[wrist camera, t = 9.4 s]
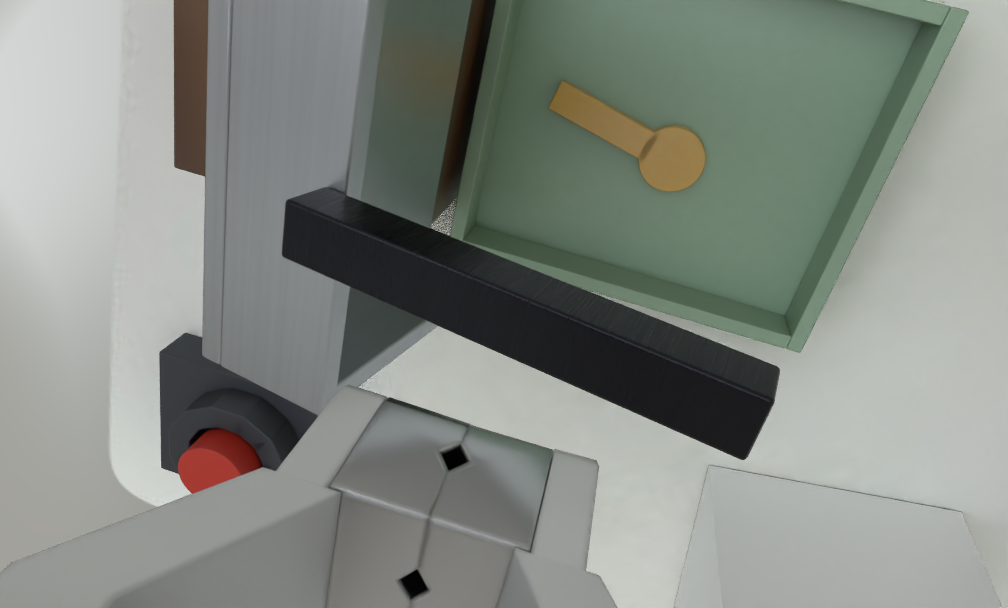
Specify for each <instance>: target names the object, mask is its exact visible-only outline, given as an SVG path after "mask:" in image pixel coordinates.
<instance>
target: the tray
mask: <svg viewBox="0 0 1008 608" xmlns="http://www.w3.org/2000/svg"><path fill="white" fill-rule="evenodd" d="M968 13H969V11H967V10H963V9H959V8H955V7H949V6H946V5H942V4H938V3H934V2H930V1H926V0H496V3H495V8H494V13H493V19H492V24H491V29H490V34H489V39H488V44H487V49H486V54H485V59H484V64H483V69H482V74H481V79H480V85H479V90H478V95H477V100H476V105H475V110H474V115H473V120H472V125H471V130H470V135H469V140H468V145H467V151H466V156H465V161H464V166H463V171H462V176H461V181H460V186H459V191H458V196H457V201H456V206H455V211H454V217H453V222H452V227H451V232H450V237H453V238H456V239H458V240H461V241H463V242H466V243H468V244H471V245H473V246H476V247H478V248H481V249H483V250H486V251H488V252H491V253H493V254H496V255H498V256H501V257H503V258H506V259H508V260H511V261H513V262H516V263H518V264H521V265H523V266H526V267H528V268H531V269H533V270H536V271H538V272H541V273H543V274H546V275H548V276H551V277H553V278H556V279H559V280H561V281H564V282H566V283H569V284H571V285H574V286H576V287H579V288H582V289H586V290H589V291H593V292H596V293H599V294H603V295H606V296H609V297H613V298H616V299H620V300H623V301H626V302H630V303H633V304H636V305H640V306H643V307H647V308H650V309H653V310H657V311H660V312H663V313H667V314H670V315H674V316H677V317H680V318H684V319H687V320H690V321H694V322H697V323H701V324H704V325H707V326H711V327H714V328H717V329H721V330H724V331H728V332H731V333H734V334H738V335H741V336H745V337H748V338H751V339H755V340H758V341H761V342H765V343H768V344H772V345H775V346H778V347H782V348H787V349H789V350H792V351H795V352H799V353H800V352H801V351H802V349H803V347H804V345H805V343H806V341H807V339H808V337H809V335H810V332H811V330H812V328H813V326H814V324H815V322H816V320H817V318H818V316H819V314H820V312H821V310H822V308H823V306H824V304H825V302H826V300H827V298H828V296H829V294H830V292H831V290H832V288H833V286H834V284H835V282H836V280H837V278H838V276H839V274H840V272H841V270H842V268H843V266H844V264H845V262H846V260H847V258H848V256H849V254H850V252H851V250H852V248H853V246H854V244H855V242H856V240H857V238H858V236H859V234H860V231H861V229H862V227H863V225H864V223H865V221H866V219H867V217H868V215H869V213H870V211H871V209H872V207H873V205H874V203H875V201H876V199H877V197H878V195H879V193H880V191H881V189H882V187H883V185H884V183H885V181H886V179H887V177H888V175H889V173H890V171H891V169H892V167H893V165H894V163H895V161H896V159H897V157H898V155H899V153H900V151H901V149H902V147H903V145H904V143H905V141H906V139H907V137H908V135H909V133H910V131H911V128H912V126H913V124H914V122H915V120H916V118H917V116H918V114H919V112H920V110H921V108H922V106H923V104H924V102H925V100H926V98H927V96H928V94H929V92H930V90H931V88H932V86H933V84H934V82H935V80H936V78H937V76H938V74H939V72H940V70H941V68H942V66H943V64H944V62H945V60H946V58H947V56H948V54H949V52H950V50H951V48H952V46H953V44H954V42H955V40H956V38H957V36H958V34H959V32H960V30H961V27H962V25H963V23H964V21H965V19H966V17H967V15H968ZM564 79H565V80H567V81H568V82H570V83H572V84H574V85H576V86H577V87H579V88H581V89H583V90H584V91H586V92H588V93H590V94H592V95H593V96H595V97H597V98H599V99H600V100H602V101H604V102H606V103H608V104H609V105H611V106H613V107H615V108H617V109H618V110H620V111H622V112H624V113H625V114H627V115H629V116H631V117H633V118H634V119H636V120H638V121H640V122H641V123H643V124H645V125H647V126H649V127H650V128H652V129H654V130H655V129H657V128H659V127H662V126H665V125H671V124H676V125H682V126H685V127H688V128H690V129H691V130H693V131H694V132H695V133H696V134H697V135H698V136H699V137H700V139H701V140H702V142H703V145H704V148H705V154H706V162H705V167H704V170H703V172H702V174H701V176H700V177H699V178H698V180H697V181H696V182H695V183H693V184H692V185H691V186H689V187H688V188H686V189H683V190H680V191H676V192H665V191H661V190H658V189H655V188H654V187H652V186H651V185H649V184H648V183H647V182H646V181H645V180H644V178H643V177H642V175H641V172H640V169H639V165H638V158H636V157H634V156H632V155H630V154H629V153H627V152H625V151H623V150H621V149H620V148H618V147H616V146H614V145H613V144H611V143H609V142H607V141H605V140H604V139H602V138H600V137H598V136H596V135H595V134H593V133H591V132H589V131H588V130H586V129H584V128H582V127H580V126H579V125H577V124H575V123H573V122H571V121H570V120H568V119H566V118H564V117H563V116H561V115H559V114H557V113H555V112H554V111H552V110H550V109H549V108H548V107H549V105H550V103H551V101H552V99H553V97H554V95H555V93H556V91H557V89H558V87H559V85H560V83H561V82H562V81H563V80H564Z"/></svg>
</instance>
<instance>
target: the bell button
mask: <svg viewBox="0 0 1008 608" xmlns="http://www.w3.org/2000/svg"><path fill="white" fill-rule="evenodd" d="M259 468H262V464H261V460H260V458H259V456H258V454H257V452H256V450H255V448H254V447H253V446H252V445H250V444H249V443H248V442H247V441H246V440H245V439H243V438H242V437H241V436H240V435H239V434H237V433H233V432H230V431H227V430H224V429H221V428H216V429H211V430H208V431H207V432H205V433H204V434H203V435H202V436H201V437H200V438H199V439H198V440H197V441H196V442H195V443H194V444H193V445H192V446H191V447H190V448H188V449H187V450H186V451H185V452H184V453H183V454H182V456H181V457H180V459H179V463H178V471H179V475H180V478H181V480H182V482H183V484H184V485H185V486H186V488H187V489H188V490H189V491H190V492H191V493H192V494H193V493H196V492H199V491H201V490H204V489H207V488H209V487H212V486H214V485H217V484H220V483H222V482H225V481H228V480H230V479H233V478H236V477H238V476H241V475H244V474H246V473H249V472H251V471H254V470H257V469H259Z"/></svg>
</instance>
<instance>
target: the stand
mask: <svg viewBox="0 0 1008 608" xmlns="http://www.w3.org/2000/svg"><path fill="white" fill-rule="evenodd" d="M208 1H209V0H174V166H175V167H176V168H178V169H182V170H185V171H188V172H192V173H195V174H199V175H202V176H205V168H206V112H207V57H208ZM495 3H496V0H472V2H471V7H470V13H469V18H468V24H467V29H466V35H465V40H464V46H463V51H462V57H461V62H460V68H459V73H458V79H457V84H456V90H455V95H454V101H453V106H452V112H451V117H450V123H449V128H448V134H447V139H446V145H445V150H444V156H443V161H442V167H441V172H440V178H439V183H438V189H437V194H436V200H435V205H434V211H433V216H432V222H431V224H432V223H433V222H434V221H435V220H436V219H437V218H438V217H439V216H440V215H441V214H442V212H443V211H444V210H445V209H446V208H447V207H448V206H449V205H450V204H451V203H452V202H453V201H454V200H455V199H456V198H457V196H458V191H459V186H460V181H461V176H462V171H463V166H464V161H465V156H466V151H467V145H468V140H469V135H470V130H471V125H472V120H473V115H474V110H475V105H476V100H477V95H478V90H479V85H480V79H481V74H482V69H483V64H484V59H485V54H486V49H487V44H488V39H489V34H490V29H491V24H492V19H493V13H494V8H495Z"/></svg>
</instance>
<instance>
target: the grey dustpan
mask: <svg viewBox="0 0 1008 608" xmlns="http://www.w3.org/2000/svg"><path fill="white" fill-rule="evenodd" d="M471 2H472V0H209V1H208V57H207V112H206V168H205V224H204V280H203V336H202V355H203V356H204V357H205V358H207V359H209V360H211V361H213V362H215V363H217V364H221V366H222V367H224V368H226V369H228V370H230V371H232V372H234V373H236V374H238V375H240V376H242V377H244V378H246V379H248V380H250V381H252V382H254V383H256V384H258V385H259V386H261V387H263V388H265V389H267V390H269V391H271V392H273V393H275V394H277V395H279V396H281V397H283V398H285V399H287V400H289V401H291V402H293V403H295V404H297V405H299V406H300V407H302V408H304V409H306V410H308V411H310V412H312V413H314V414H316V415H318V416H319V415H320V413H321V412H322V411H323V410H324V408H325V407H326V406H327V404H328V403H329V402H330V400H331V399H332V398H333V397H334V395H335V394H336V393H337V391H338V390H339V389H341V388H343V387H345V386H347V385H352V386H355V387H359V386H360V385H361V384H363V383H364V382H365V381H367V380H368V379H369V378H370V377H372V376H373V375H374V374H376V373H377V372H378V371H380V370H381V369H382V368H384V367H385V366H386V365H387V364H389V363H390V362H391V361H393V360H394V359H395V358H397V357H398V356H399V355H401V354H402V353H403V352H405V351H406V350H407V349H408V348H410V347H411V346H412V345H414V344H415V343H416V342H418V341H419V340H420V339H422V338H423V337H424V336H425V335H427V334H428V333H429V332H431V331H432V330H433V329H435V328H436V327H437V326H440V327H442V328H444V329H447V330H449V331H451V332H453V333H456V334H458V335H460V336H462V337H465V338H467V339H469V340H471V341H474V342H476V343H478V344H480V345H483V346H485V347H487V348H490V349H492V350H494V351H496V352H499V353H501V354H503V355H505V356H508V357H510V358H512V359H514V360H517V361H519V362H521V363H523V364H526V365H528V366H530V367H533V368H535V369H537V370H539V371H542V372H544V373H546V374H548V375H551V376H553V377H555V378H557V379H560V380H562V381H564V382H566V383H569V384H571V385H573V386H576V387H578V388H580V389H582V390H585V391H587V392H589V393H591V394H594V395H596V396H598V397H600V398H603V399H605V400H607V401H609V402H612V403H614V404H616V405H619V406H621V407H623V408H625V409H628V410H630V411H632V412H634V413H637V414H639V415H641V416H643V417H646V418H648V419H650V420H652V421H655V422H657V423H659V424H662V425H664V426H666V427H668V428H671V429H673V430H675V431H677V432H680V433H682V434H684V435H686V436H689V437H691V438H693V439H695V440H698V441H700V442H702V443H705V444H707V445H709V446H711V447H714V448H716V449H718V450H720V451H723V452H725V453H727V454H729V455H732V456H734V457H736V458H738V459H741V460H745V459H746V458H747V457H748V455H749V453H750V451H751V449H752V447H753V445H754V443H755V441H756V439H757V437H758V435H759V433H760V431H761V429H762V427H763V425H764V423H765V421H766V419H767V417H768V415H769V412H770V410H771V408H772V406H773V404H774V401H775V396H776V390H777V385H778V380H779V374H780V369H779V368H778V367H777V366H775V365H772V364H770V363H767V362H765V361H762V360H760V359H757V358H754V357H752V356H749V355H747V354H744V353H742V352H739V351H737V350H734V349H732V348H729V347H727V346H724V345H722V344H719V343H717V342H714V341H712V340H709V339H707V338H704V337H702V336H699V335H697V334H694V333H692V332H689V331H687V330H684V329H682V328H679V327H677V326H674V325H672V324H669V323H667V322H664V321H662V320H659V319H656V318H654V317H651V316H649V315H646V314H644V313H641V312H639V311H636V310H634V309H631V308H629V307H626V306H624V305H621V304H619V303H616V302H614V301H611V300H609V299H606V298H604V297H601V296H599V295H596V294H594V293H591V292H589V291H586V290H584V289H581V288H579V287H576V286H574V285H571V284H569V283H566V282H564V281H561V280H559V279H556V278H553V277H551V276H548V275H546V274H543V273H541V272H538V271H536V270H533V269H531V268H528V267H526V266H523V265H521V264H518V263H516V262H513V261H511V260H508V259H506V258H503V257H501V256H498V255H496V254H493V253H491V252H488V251H486V250H483V249H481V248H478V247H476V246H473V245H471V244H468V243H466V242H463V241H461V240H458V239H456V238H453V237H450V236H448V235H445V234H443V233H440V232H438V231H435V230H433V229H430V227H431V222H432V216H433V211H434V205H435V200H436V194H437V189H438V183H439V178H440V172H441V167H442V161H443V156H444V150H445V145H446V139H447V134H448V128H449V123H450V117H451V112H452V106H453V101H454V95H455V90H456V84H457V79H458V73H459V68H460V62H461V57H462V51H463V46H464V40H465V35H466V29H467V24H468V18H469V13H470V7H471Z"/></svg>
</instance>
